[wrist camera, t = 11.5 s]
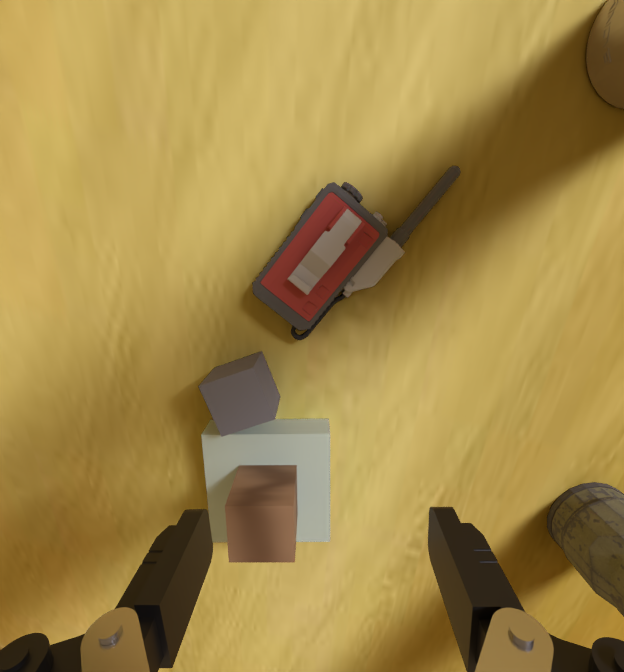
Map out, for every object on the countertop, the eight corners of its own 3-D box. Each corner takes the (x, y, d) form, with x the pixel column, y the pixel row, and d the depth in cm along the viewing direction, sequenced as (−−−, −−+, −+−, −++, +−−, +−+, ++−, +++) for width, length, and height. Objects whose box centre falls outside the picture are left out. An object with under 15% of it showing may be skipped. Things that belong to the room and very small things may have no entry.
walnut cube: (296, 465, 34) (293, 505, 28) (297, 514, 35) (294, 562, 29) (239, 465, 34) (224, 505, 28) (242, 514, 35) (229, 562, 29)
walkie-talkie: (316, 350, 34) (460, 179, 31) (316, 365, 30) (484, 167, 26) (243, 294, 33) (385, 108, 29) (233, 300, 29) (398, 83, 25)
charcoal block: (262, 350, 34) (253, 367, 29) (280, 396, 35) (274, 419, 30) (214, 367, 35) (198, 386, 30) (234, 411, 36) (221, 436, 31)
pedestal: (328, 418, 36) (330, 433, 33) (328, 519, 38) (330, 541, 36) (210, 419, 36) (201, 434, 33) (219, 520, 39) (211, 542, 36)
